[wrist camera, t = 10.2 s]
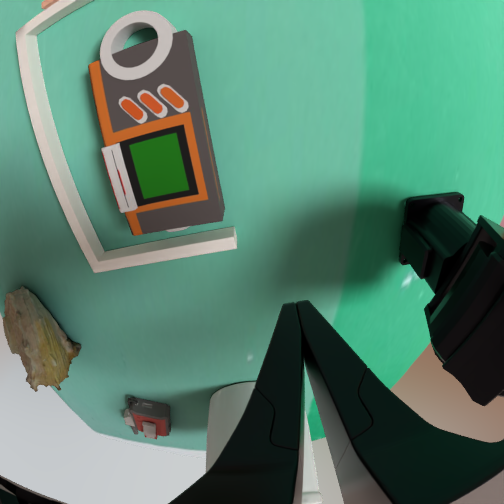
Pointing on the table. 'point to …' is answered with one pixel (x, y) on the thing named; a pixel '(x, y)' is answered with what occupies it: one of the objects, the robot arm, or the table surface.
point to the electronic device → (155, 127)
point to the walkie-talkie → (148, 417)
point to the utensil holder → (227, 418)
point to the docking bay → (56, 7)
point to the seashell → (37, 339)
